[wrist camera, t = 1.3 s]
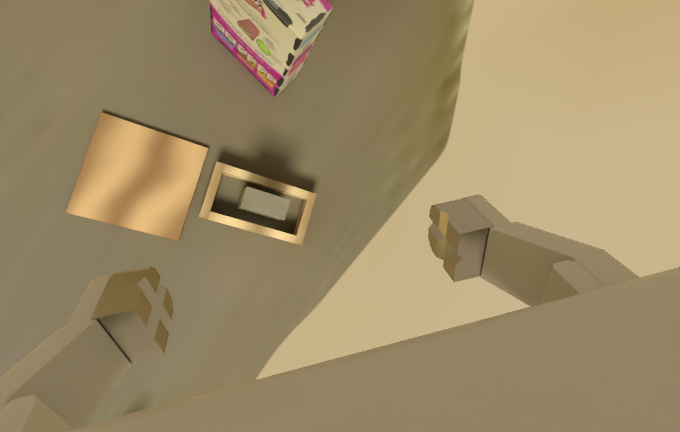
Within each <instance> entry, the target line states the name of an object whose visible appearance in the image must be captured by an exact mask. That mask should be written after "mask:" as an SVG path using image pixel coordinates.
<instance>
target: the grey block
mask: <svg viewBox="0 0 680 432" xmlns="http://www.w3.org/2000/svg"><path fill="white" fill-rule="evenodd" d="M289 204H290V200H289V199H286V198H282V197H279V196H276V195H273V194H270V193H267V192H263V191H260V190H257V189H254V188H251V187H248V186H247V187H246V188H245V189H244V190H243V192H242V195H241V198H240V201H239V204H238V208H237V209H241V210H244V211H247V212H251V213H254V214H258V215H261V216H265V217H268V218H271V219H276V220H285V217H286V214H287V210H288V207H289Z"/></svg>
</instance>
